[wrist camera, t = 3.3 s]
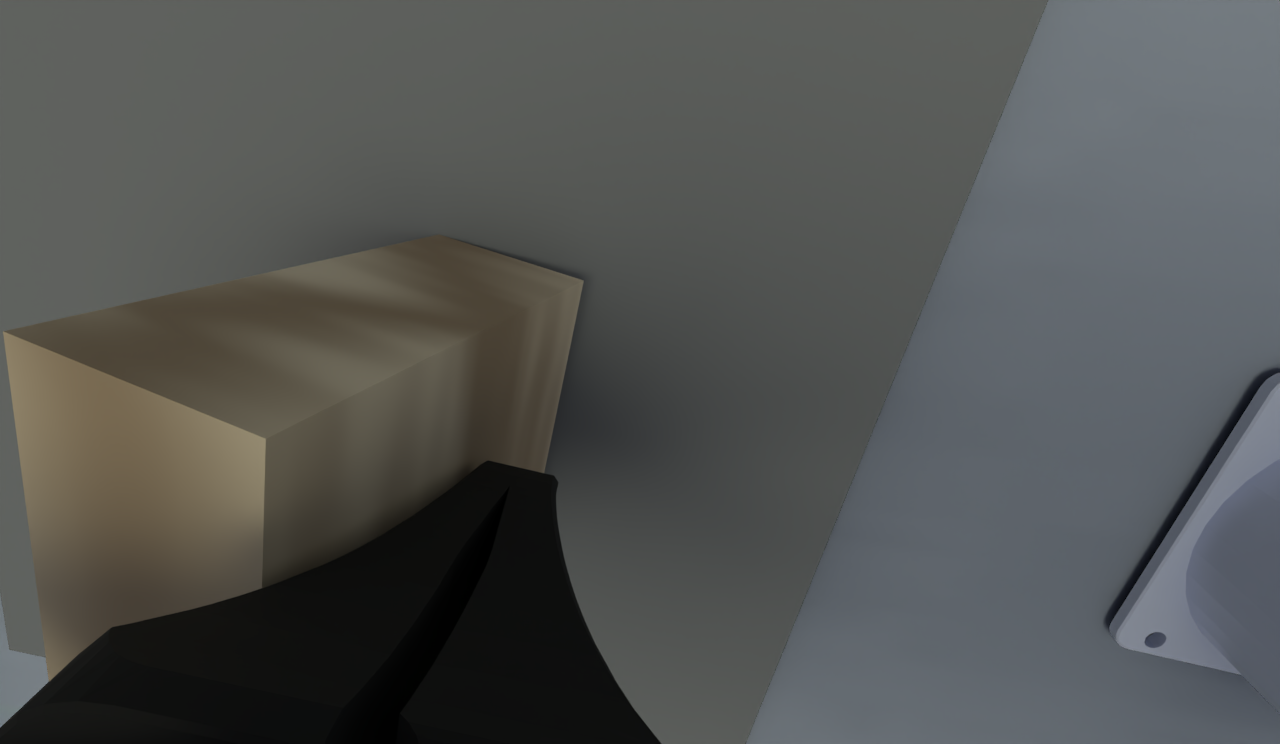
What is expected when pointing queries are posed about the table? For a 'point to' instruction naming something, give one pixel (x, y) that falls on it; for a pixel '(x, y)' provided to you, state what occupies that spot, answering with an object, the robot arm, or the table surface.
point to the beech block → (272, 422)
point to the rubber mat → (547, 245)
